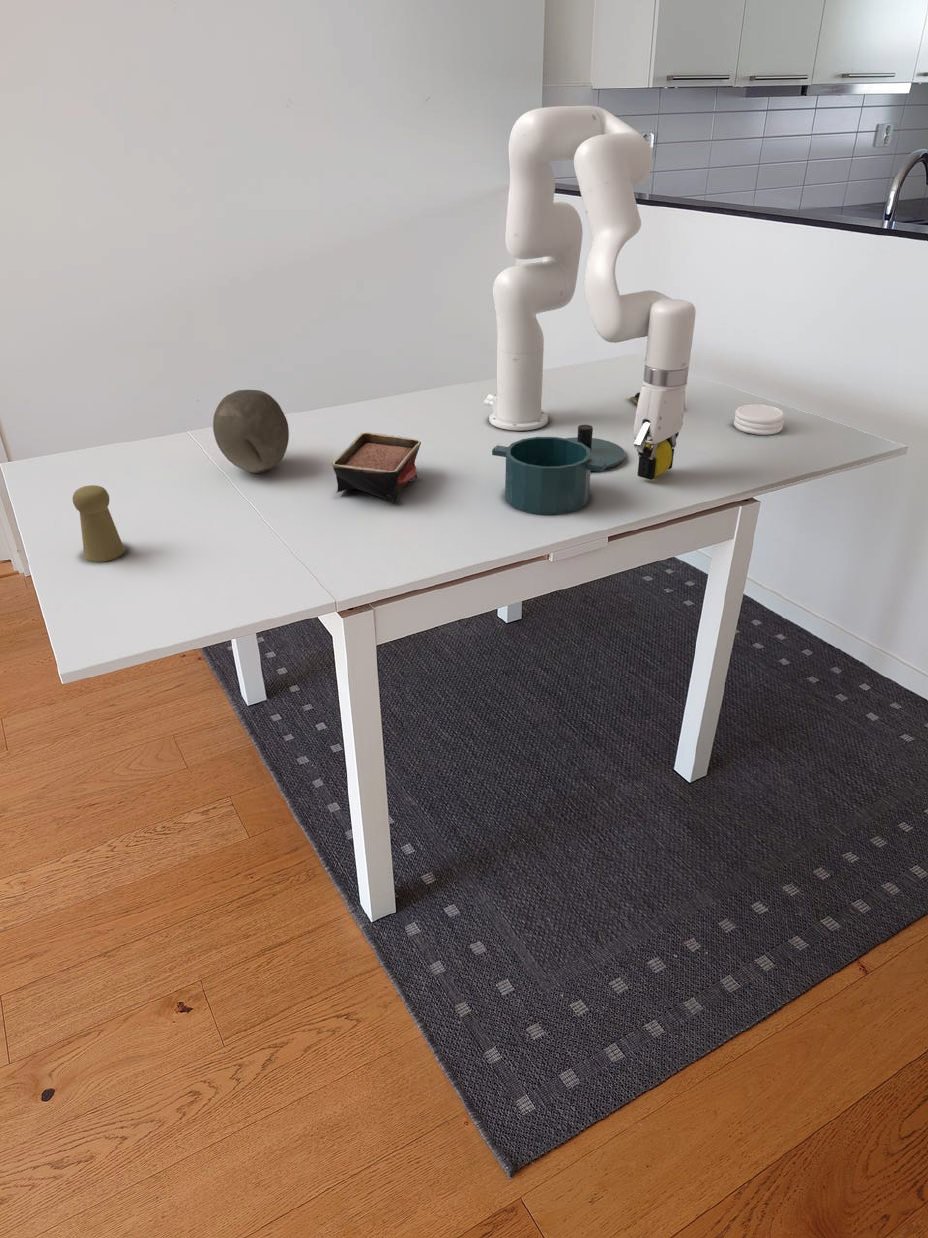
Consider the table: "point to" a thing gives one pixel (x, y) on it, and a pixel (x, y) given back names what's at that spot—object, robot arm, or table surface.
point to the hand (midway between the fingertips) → (654, 471)
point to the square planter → (377, 465)
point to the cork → (97, 524)
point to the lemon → (662, 457)
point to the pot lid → (599, 447)
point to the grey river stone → (251, 430)
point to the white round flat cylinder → (759, 419)
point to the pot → (547, 474)
